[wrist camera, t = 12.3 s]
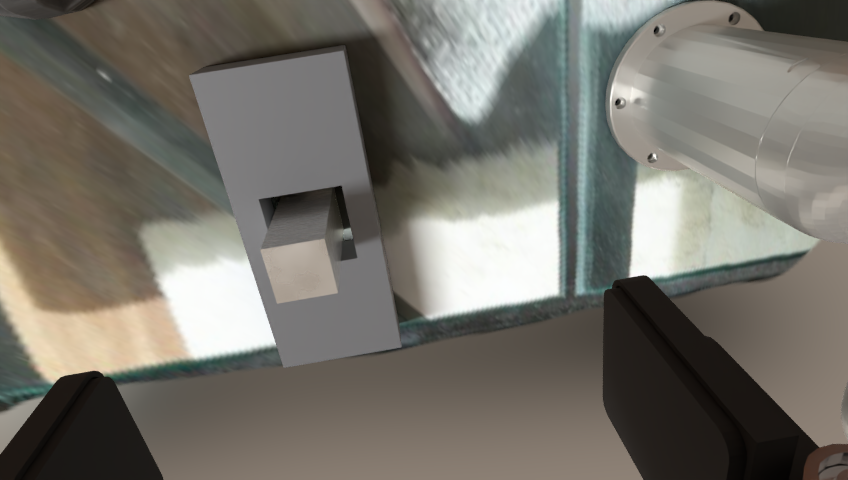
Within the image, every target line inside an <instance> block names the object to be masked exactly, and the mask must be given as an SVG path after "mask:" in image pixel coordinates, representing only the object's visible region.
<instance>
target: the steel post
mask: <svg viewBox="0 0 848 480" xmlns="http://www.w3.org/2000/svg"><path fill="white" fill-rule="evenodd" d="M343 231H344V229H343V224H342V220H341V216H340V211H339V207H338V203H337V198H336V194H335V190H334V187H330V188H324V189H318V190H312V191H306V192H300V193H294V194H288V195H282V196H281V198H280V200H279V203H278V205H277V208H276V210H275V213H274V216H273V218H272V221H271V223H270V226H269V228H268V231H267V234H266V236H265V239H264V241H263V244H262V246H261V249H260V251H261V254H262V257H263V260H264V263H265V267H266V270H267V273H268V276H269V279H270V283H271V286H272V289H273V292H274V295H275V298H276V302H277V304H278V303H284V302H290V301H296V300H302V299H307V298H313V297H319V296H325V295H330V294H336V293H338V289H339V277H340V266H341V254H342V242H343Z"/></svg>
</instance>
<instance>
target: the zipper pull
mask: <svg viewBox="0 0 848 480" xmlns="http://www.w3.org/2000/svg"><path fill="white" fill-rule="evenodd" d="M94 1H95V0H0V16H8V17H18V18H27V19H36V20H38V19H44V18H52V17H56V16H60V15H64V14H68V13H73V12H77V11H81V10H83V9H84V8H85V7H87V6H88V5H90V4H91V3H92V2H94Z"/></svg>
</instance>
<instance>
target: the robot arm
mask: <svg viewBox="0 0 848 480" xmlns="http://www.w3.org/2000/svg"><path fill="white" fill-rule="evenodd" d="M729 16H730V18H729ZM728 19H729V20H728ZM655 27H656V28H657V29H656V32H655V33H654V28H655ZM617 99H618V103H617V104H615V101H616V100H617ZM605 108H606V115H607V122H608V125H609V128H610V131H611V133H612V136H613V137H614V139H615V140H616V142H617V144H618V145H619V147H620V148H621V149H622V150H623V151H624V152H625V153H626V154H627V155H628V156H630V157H632V158H633V159H634V160H636V161H637V162H639V163H641V164H643V165H645V166H647V167H649V168H653V169H658V170H662V171H680V170H686V169H692V170H694V171H696V172H697V173H699V174H701V175H703V176H704V177H706V178H708V179H709V180H711V181H713V182H715V183H716V184H718V185H720V186H721V187H723V188H725V189H727V190H728V191H730V192H732V193H734V194H735V195H737V196H739V197H740V198H742V199H744V200H746V201H747V202H749V203H751V204H753V205H754V206H756V207H758V208H759V209H761V210H763V211H765V212H766V213H768V214H770V215H772V216H773V217H775V218H777V219H779V220H781V221H783V222H784V223H786V224H788V225H790V226H791V227H793V228H795V229H797V230H799V231H800V232H803V233H805V234H807V235H809V236H812V237H815V238H818V239H822V240H825V241H830V242H836V243H845V244H848V42H845V41H838V40H830V39H822V38H814V37H807V36H799V35H791V34H783V33H775V32H768V31H764V30H763V28H762V27H761V26H760V24H759V23H758V22H757V20H756V19H755V18H754V17H753V16H751V15H750V14H749V13H748V12H746V11H745V10H744V9H742V8H740V7H738V6H735V5H733V4H731V3H727V2H721V1H715V0H697V1H691V2H685V3H682V4H679V5H676V6H673V7H671V8H668V9H666V10H664V11H663V12H661V13H659V14H658V15H656V16H654V17H653V18H651V19H650V20H649V21H648V22H647V23H645V24H644V25H643V26H642V27H641V28H639V29H638V30H637V32H636V33H635V34H634V35H633V36H632V37H631V38H630V40H629V41H628V42H627V43H626V45H625V46H624V48H623V49H622V51H621V53H620V54H619V56H618V57H617V59H616V62H615V64H614V66H613V69H612V71H611V74H610V77H609V81H608V86H607V90H606V104H605ZM649 155H650V156H649ZM648 156H649V157H648ZM603 343H604V344H603V401H604V406H605V410H606V412H607V415H608V417H609V419H610V420H611V422H612V424H613V426H614V428H615V429H616V431H617V433H618V435H619V436H620V438H621V440H622V442H623V444H624V445H625V447H626V449H627V451H628V453H629V454H630V456H631V458H632V460H633V462H634V463H635V465H636V467H637V469H638V470H639V472H640V474H641V476H642V478H643V480H848V444H831V445H827V446H823V447H820V448H819V447H818V446H817V445H816V444H815V442H813V440H811V438H810V437H809V436H808V435H806V433H805V432H804V431H803V430H802V429H801V428H800V427H799V426H798V425H797V424H796V423H795V422H794V421H793V420H792V419H791V418H790V417H789V416H788V415H787V414H786V413H785V412H784V411H783V410H782V409H781V407H780V406H779V405H777V403H776V402H775V401H774V400H773V399H772V398H771V397H770V396H769V395H768V394H767V393H766V392H765V391H764V390H763V389H762V388H761V387H760V386H759V385H758V384H757V383H756V382H755V381H754V380H753V379H752V378H751V377H750V376H749V375H748V374H747V372H745V371H744V369H742V367H741V366H740V365H739V364H738V363H737V362H736V361H735V360H734V359H733V358H732V357H731V356H730V355H729V354H728V353H727V352H726V351H725V350H724V349H723V348H722V347H721V346H720V345H719V344H718V343H717V342H716V341H715V340H713V339H712V338H711V337H707V336H704V335H703V334H702V333H701V332H700V331H699V329H698V328H697V327H696V326H695V325H694V324H693V323H692V322H691V321H690V320H689V319H688V318H687V317H686V316H685V315H684V314H683V313H682V312H681V311H680V309H678V308H677V307H676V305H675V304H674V303H673V302H672V301H671V300H670V299H669V298H668V297H667V296H666V295H665V294H664V293H663V292H662V291H661V290H660V289H659V287H658V286H657V285H656V284H655V283H654V282H653V281H652V280H651V279H650V278H649V277H647V276H644V275H643V276H637V277H631V278H625V279H620V280H616V281H614V283H613V285H612V289H607V290H606V291H605V293H604V336H603ZM841 420H842V426H843V430H844V433H845V436H846V438H847V440H848V382H847V385H846V388H845V390H844V395H843V400H842V405H841ZM0 480H163V477H162V474H161V472H160V470H159V468H158V467H157V464H156V462H155V461H154V459H153V457H152V455H151V453H150V451H149V449H148V447H147V445H146V443H145V441H144V439H143V437H142V435H141V433H140V431H139V429H138V428H137V425H136V423H135V421H134V420H133V418H132V416H131V414H130V412H129V410H128V408H127V406H126V404H125V402H124V400H123V398H122V396H121V394H120V392H119V390H118V388H117V386H116V384H115V383H114V381H113V380H112V379H111V378H110V377H104V376H103V374H101V373H100V372H99V371H90V372H84V373H79V374H73V375H67V376H63V377H61V378H60V379H59V380H58V381H56V383H55V384H54V385H53V387H52V388H51V389H50V391H49V392H48V393H47V394H46V396H45V397H44V398H43V400H42V401H41V402H40V404H39V405H38V406H37V407H36V409H35V410H34V411H33V413H32V414H31V415H30V417H29V418H28V419H27V421H26V422H25V423H24V424H23V426H22V427H21V428H20V430H19V431H18V432H17V433H16V435H15V436H14V438H13V439H12V440H11V441H10V443H9V444H8V445H7V447H6V448H5V449H4V450H3V452H2V453H1V454H0Z"/></svg>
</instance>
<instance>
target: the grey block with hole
mask: <svg viewBox="0 0 848 480" xmlns="http://www.w3.org/2000/svg"><path fill="white" fill-rule="evenodd" d="M189 77H190V80H191V83H192V86H193V89H194V92H195V95H196V98H197V102H198V105H199V108H200V111H201V114H202V117H203V120H204V123H205V126H206V129H207V132H208V135H209V139H210V142H211V145H212V148H213V151H214V154H215V157H216V160H217V163H218V166H219V169H220V172H221V176H222V179H223V182H224V185H225V188H226V191H227V194H228V197H229V200H230V203H231V206H232V209H233V213H234V216H235V219H236V222H237V225H238V228H239V231H240V234H241V237H242V240H243V243H244V246H245V250H246V253H247V256H248V259H249V262H250V265H251V268H252V271H253V274H254V277H255V280H256V283H257V287H258V290H259V293H260V296H261V299H262V302H263V305H264V308H265V311H266V314H267V317H268V320H269V324H270V327H271V330H272V333H273V336H274V339H275V342H276V345H277V348H278V351H279V354H280V357H281V361H282V364H283V367H284V368H285V367H291V366H296V365H302V364H308V363H314V362H319V361H325V360H331V359H337V358H342V357H348V356H354V355H360V354H365V353H371V352H377V351H382V350H388V349H394V348H400V347H401V337H400V327H399V320H398V315H397V310H396V304H395V299H394V294H393V289H392V284H391V278H390V273H389V268H388V263H387V258H386V253H385V247H384V242H383V237H382V232H381V227H380V222H379V216H378V211H377V206H376V201H375V196H374V191H373V185H372V180H371V175H370V170H369V165H368V159H367V154H366V149H365V144H364V139H363V134H362V128H361V123H360V118H359V113H358V108H357V103H356V97H355V92H354V87H353V82H352V77H351V72H350V66H349V61H348V56H347V51H346V46H345V45H341V46H335V47H328V48H322V49H316V50H310V51H303V52H297V53H291V54H284V55H278V56H272V57H265V58H259V59H253V60H246V61H240V62H234V63H227V64H221V65H215V66H208V67H203V68H201V69H200V70H198V71H196V72H194V73H192V74H190V75H189ZM336 186H342V190H343V194H344V199H345V203H346V208H347V213H348V217H349V222H350V226H351V231H352V235H353V240H347V241H343V242H342V254H341V266H340V277H339V289H338V293H336V294H330V295H325V296H319V297H313V298H307V299H302V300H296V301H290V302H284V303H278V304H277V302H276V298H275V295H274V292H273V289H272V286H271V283H270V279H269V276H268V273H267V270H266V267H265V263H264V260H263V257H262V254H261V251H260V249H261V246H262V244H263V241H264V239H265V236H266V234H267V231H268V228H269V226H270V223H271V221H272V218H273V216H274V213H275V211H274V207H273V204H272V200H271V197H276V196H282V195H288V194H294V193H300V192H306V191H312V190H318V189H324V188H330V187H336Z"/></svg>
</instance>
